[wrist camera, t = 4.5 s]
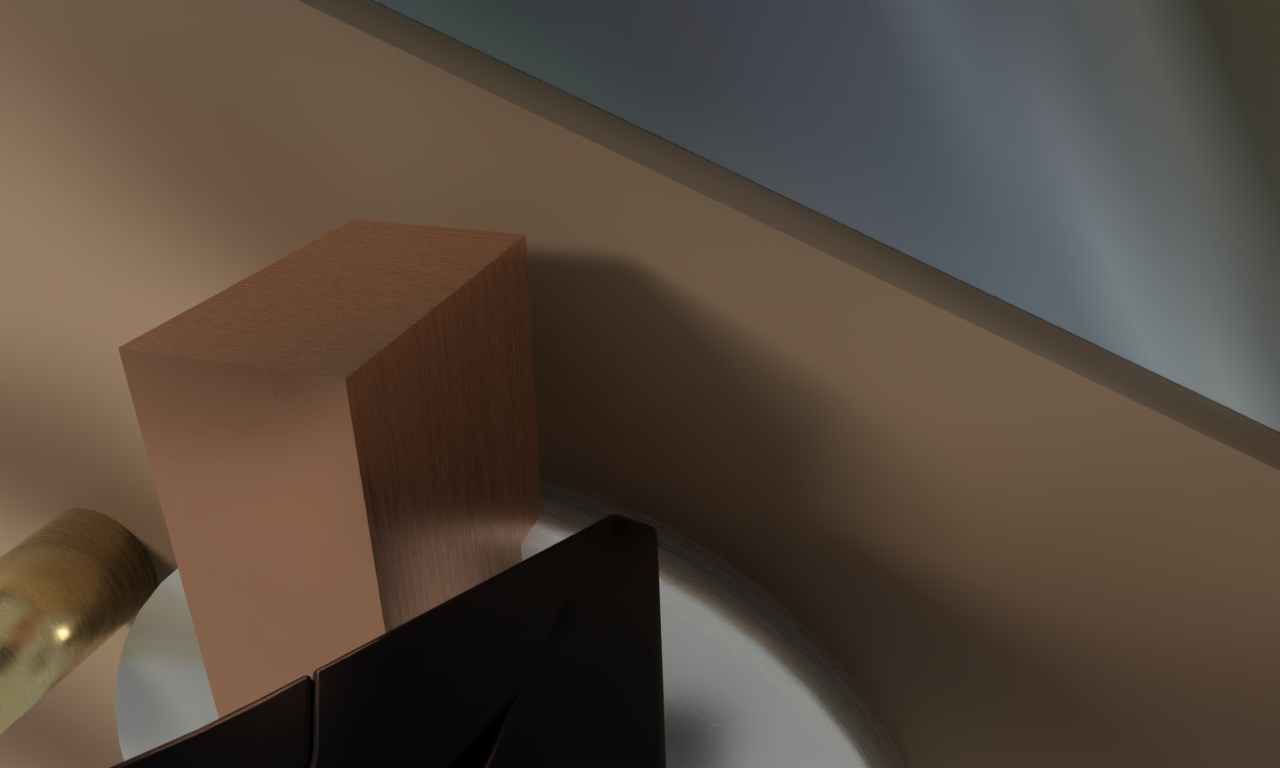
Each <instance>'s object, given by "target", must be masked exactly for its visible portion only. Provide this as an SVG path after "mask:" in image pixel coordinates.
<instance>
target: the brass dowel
mask: <svg viewBox="0 0 1280 768" xmlns="http://www.w3.org/2000/svg"><path fill="white" fill-rule="evenodd" d="M156 589H157V575H156V571H155V568H154V565H153V563H152V560H151V558H150V556H149V555H148V553H147V551H146V550H145V548H144V547H143V546H142V544H141V543H140V542H139V541H138V540H137V538H136V537H135V536H134V535H133V534H132V533H131V532H130V531H129V530H127V529H126V528H125V527H124V526H123V525H121V524H120V523H118V522H117V521H115V520H114V519H112V518H110V517H109V516H107V515H104V514H102V513H100V512H97V511H94V510H90V509H83V508H76V509H70V510H67V511H65V512H63V513H62V514H60V515H59V516H58V517H56V518H55V519H53V520H52V521H50V522H49V523H48V524H46V525H45V526H43V527H42V528H40V529H39V530H37V531H36V532H35V533H33V534H32V535H30V536H29V537H27V538H26V539H25V540H23V541H22V542H20V543H19V544H17V545H16V546H14V547H13V548H12V549H10V550H9V551H7V552H6V553H4V554H3V555H2V556H0V734H2V733H3V732H4V731H5V730H6V729H7V728H8V727H9V726H11V725H12V724H13V723H14V722H15V721H16V720H17V719H19V718H20V717H21V716H22V715H23V714H24V713H25V712H26V711H28V710H29V709H30V708H31V707H32V706H33V705H34V704H36V703H37V702H38V701H39V700H40V699H41V698H42V697H43V696H45V695H46V694H47V693H48V692H49V691H50V690H51V689H53V688H54V687H55V686H56V685H57V684H58V683H59V682H60V681H62V680H63V679H64V678H65V677H66V676H67V675H68V674H70V673H71V672H72V671H73V670H74V669H75V668H76V667H77V666H79V665H80V664H81V663H82V662H83V661H84V660H85V659H87V658H88V657H89V656H90V655H91V654H92V653H93V652H94V651H96V650H97V649H98V648H99V647H100V646H101V645H102V644H104V643H105V642H106V641H107V640H108V639H109V638H110V637H112V636H113V635H114V634H115V633H116V632H117V631H118V630H119V629H121V628H122V627H123V626H124V625H125V624H126V623H127V622H129V621H130V620H131V619H132V618H133V617H134V616H135V615H136V614H138V613H139V611H140V609H141V608H142V607H143V605H144V604H145V603H146V602H147V600H148V599H149V598H150V596H151V595H152V594H153V593H154V591H155V590H156Z"/></svg>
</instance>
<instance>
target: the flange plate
mask: <svg viewBox="0 0 1280 768" xmlns="http://www.w3.org/2000/svg"><path fill="white" fill-rule="evenodd" d="M118 350H119V353H120V357H121V361H122V364H123V368H124V372H125V375H126V379H127V383H128V386H129V390H130V394H131V397H132V401H133V405H134V408H135V412H136V416H137V419H138V423H139V427H140V430H141V434H142V438H143V441H144V445H145V449H146V452H147V456H148V460H149V463H150V467H151V471H152V474H153V478H154V482H155V486H156V489H157V493H158V497H159V500H160V504H161V508H162V511H163V515H164V519H165V522H166V526H167V530H168V533H169V537H170V541H171V544H172V548H173V552H174V555H175V559H176V563H177V566H178V569H176V570H175V571H174V572H173V573H172V574H171V575H169V576H168V577H167V578H166V579H165V580H164V581H163V582H161V584H160V585H159V586H158V588H157V589H156V590H155V591H154V593H153V594H152V595H151V596H150V598H149V599H148V600H147V602H146V603H145V604H144V605H143V607H142V608H141V609H140V611H139V613H138V615H137V617H136V619H135V621H134V623H133V625H132V627H131V629H130V632H129V634H128V636H127V638H126V640H125V643H124V647H123V651H122V655H121V659H120V663H119V668H118V672H117V682H116V704H115V711H116V719H117V728H118V736H119V744H120V748H121V752H122V755H123V759H124V761H126V760H128V759H130V758H133V757H135V756H137V755H139V754H142V753H144V752H146V751H149V750H151V749H153V748H155V747H158V746H160V745H162V744H165V743H167V742H169V741H171V740H174V739H176V738H178V737H181V736H183V735H185V734H188V733H190V732H192V731H194V730H197V729H199V728H201V727H203V726H205V725H207V724H209V723H211V722H213V721H215V720H217V719H219V718H221V717H223V716H225V715H227V714H229V713H231V712H233V711H236V710H238V709H240V708H242V707H244V706H246V705H248V704H250V703H252V702H254V701H256V700H258V699H260V698H262V697H264V696H266V695H268V694H270V693H272V692H273V691H275V690H277V689H279V688H281V687H283V686H285V685H287V684H289V683H291V682H292V681H294V680H296V679H298V678H300V677H302V676H304V675H308V676H310V677H311V678H312V675H313V672H314V671H315V670H316V669H318V668H320V667H322V666H324V665H326V664H328V663H329V662H331V661H333V660H335V659H337V658H339V657H341V656H343V655H345V654H347V653H348V652H350V651H352V650H354V649H356V648H358V647H360V646H362V645H364V644H366V643H368V642H369V641H371V640H373V639H375V638H377V637H379V636H381V635H383V634H385V633H387V632H388V631H390V630H392V629H394V628H396V627H398V626H400V625H402V624H404V623H406V622H407V621H409V620H411V619H413V618H415V617H417V616H419V615H421V614H423V613H425V612H426V611H428V610H430V609H432V608H434V607H436V606H438V605H440V604H442V603H444V602H445V601H447V600H449V599H451V598H453V597H455V596H457V595H459V594H461V593H463V592H465V591H466V590H468V589H470V588H472V587H474V586H476V585H478V584H480V583H482V582H484V581H485V580H487V579H489V578H491V577H493V576H495V575H497V574H499V573H501V572H503V571H504V570H506V569H508V568H510V567H512V566H514V565H516V564H518V563H520V562H522V561H523V560H525V559H527V558H529V557H531V556H533V555H535V554H537V553H539V552H541V551H543V550H544V549H546V548H548V547H550V546H552V545H554V544H556V543H558V542H560V541H562V540H563V539H565V538H567V537H569V536H571V535H573V534H575V533H577V532H579V531H581V530H582V529H584V528H586V527H588V526H590V525H592V524H594V523H596V522H598V521H600V520H601V519H603V518H605V517H607V516H609V515H612V514H620V515H623V516H626V517H629V518H631V519H634V520H637V521H640V522H642V523H645V524H648V525H651V526H652V527H654V528H655V529H656V531H657V536H658V561H659V586H660V611H661V637H662V662H663V687H664V713H665V738H666V764H667V768H907V767H906V765H905V763H904V761H903V759H902V757H901V755H900V753H899V751H898V748H897V746H896V744H895V742H894V740H893V738H892V736H891V734H890V731H889V729H888V728H887V726H886V725H885V723H884V722H883V720H882V719H881V717H880V716H879V714H878V713H877V711H876V710H875V708H874V707H873V705H872V704H871V702H870V701H869V699H868V697H867V696H866V694H865V693H864V691H863V690H862V688H861V687H860V685H859V684H858V682H857V681H856V680H855V679H854V678H853V677H852V675H851V674H850V673H849V672H848V671H847V670H846V668H845V667H844V666H843V665H842V664H841V663H840V661H839V660H838V659H837V658H836V657H835V656H834V654H833V653H832V652H831V651H830V650H829V649H828V647H827V646H826V645H825V644H824V643H823V642H822V640H821V639H820V638H819V637H818V636H817V635H816V634H814V633H813V632H812V631H811V630H810V629H809V628H808V627H807V626H806V625H805V624H804V623H803V622H802V621H800V620H799V619H798V618H797V617H796V616H795V615H794V614H793V613H792V612H791V611H790V610H789V609H787V608H786V607H785V606H784V605H783V604H782V603H781V602H780V601H779V600H778V599H777V598H776V597H774V596H773V595H772V594H771V593H769V592H768V591H767V590H765V589H764V588H762V587H761V586H760V585H758V584H757V583H756V582H754V581H753V580H752V579H750V578H749V577H748V576H746V575H745V574H744V573H742V572H741V571H739V570H738V569H737V568H735V567H734V566H733V565H731V564H730V563H729V562H727V561H726V560H725V559H723V558H722V557H720V556H718V555H717V554H715V553H713V552H712V551H710V550H708V549H707V548H705V547H703V546H701V545H700V544H698V543H696V542H695V541H693V540H691V539H690V538H688V537H686V536H684V535H683V534H681V533H679V532H678V531H676V530H674V529H673V528H671V527H669V526H667V525H666V524H664V523H661V522H659V521H657V520H655V519H653V518H650V517H648V516H646V515H644V514H642V513H639V512H637V511H635V510H633V509H631V508H629V507H626V506H624V505H622V504H620V503H618V502H615V501H613V500H611V499H609V498H607V497H604V496H601V495H598V494H595V493H592V492H589V491H586V490H583V489H580V488H577V487H574V486H571V485H568V484H565V483H562V482H559V481H556V480H553V479H550V478H547V477H542V476H540V462H539V445H538V429H537V412H536V396H535V379H534V363H533V346H532V330H531V313H530V297H529V280H528V264H527V247H526V235H523V234H512V233H501V232H489V231H478V230H467V229H456V228H445V227H434V226H423V225H412V224H401V223H389V222H378V221H367V220H356V219H353V220H351V221H350V222H348V223H346V224H344V225H342V226H340V227H339V228H337V229H335V230H333V231H331V232H329V233H328V234H326V235H324V236H322V237H320V238H318V239H317V240H315V241H313V242H311V243H309V244H307V245H306V246H304V247H302V248H300V249H298V250H296V251H295V252H293V253H291V254H289V255H287V256H285V257H284V258H282V259H280V260H278V261H276V262H274V263H273V264H271V265H269V266H267V267H265V268H263V269H262V270H260V271H258V272H256V273H254V274H252V275H251V276H249V277H247V278H245V279H243V280H241V281H240V282H238V283H236V284H234V285H232V286H230V287H229V288H227V289H225V290H223V291H221V292H219V293H218V294H216V295H214V296H212V297H210V298H208V299H207V300H205V301H203V302H201V303H199V304H197V305H196V306H194V307H192V308H190V309H188V310H186V311H185V312H183V313H181V314H179V315H177V316H175V317H174V318H172V319H170V320H168V321H166V322H164V323H163V324H161V325H159V326H157V327H155V328H153V329H152V330H150V331H148V332H146V333H144V334H142V335H141V336H139V337H137V338H135V339H133V340H131V341H130V342H128V343H126V344H124V345H122V346H120V347H119V348H118Z"/></svg>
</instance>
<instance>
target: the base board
mask: <svg viewBox="0 0 1280 768" xmlns="http://www.w3.org/2000/svg"><path fill="white" fill-rule="evenodd" d="M353 219H356V220H367V221H378V222H389V223H401V224H412V225H423V226H434V227H445V228H456V229H467V230H478V231H489V232H501V233H512V234H523V235H526V247H527V264H528V280H529V297H530V313H531V330H532V346H533V363H534V379H535V396H536V412H537V429H538V445H539V462H540V476H542V477H547V478H550V479H553V480H556V481H559V482H562V483H565V484H568V485H571V486H574V487H577V488H580V489H583V490H586V491H589V492H592V493H595V494H598V495H601V496H604V497H607V498H609V499H611V500H613V501H615V502H618V503H620V504H622V505H624V506H626V507H629V508H631V509H633V510H635V511H637V512H639V513H642V514H644V515H646V516H648V517H650V518H653V519H655V520H657V521H659V522H661V523H664V524H666V525H667V526H669V527H671V528H673V529H674V530H676V531H678V532H679V533H681V534H683V535H684V536H686V537H688V538H690V539H691V540H693V541H695V542H696V543H698V544H700V545H701V546H703V547H705V548H707V549H708V550H710V551H712V552H713V553H715V554H717V555H718V556H720V557H722V558H723V559H725V560H726V561H727V562H729V563H730V564H731V565H733V566H734V567H735V568H737V569H738V570H739V571H741V572H742V573H744V574H745V575H746V576H748V577H749V578H750V579H752V580H753V581H754V582H756V583H757V584H758V585H760V586H761V587H762V588H764V589H765V590H767V591H768V592H769V593H771V594H772V595H773V596H774V597H776V598H777V599H778V600H779V601H780V602H781V603H782V604H783V605H784V606H785V607H786V608H787V609H789V610H790V611H791V612H792V613H793V614H794V615H795V616H796V617H797V618H798V619H799V620H800V621H802V622H803V623H804V624H805V625H806V626H807V627H808V628H809V629H810V630H811V631H812V632H813V633H814V634H816V635H817V636H818V637H819V638H820V639H821V640H822V642H823V643H824V644H825V645H826V646H827V647H828V649H829V650H830V651H831V652H832V653H833V654H834V656H835V657H836V658H837V659H838V660H839V661H840V663H841V664H842V665H843V666H844V667H845V668H846V670H847V671H848V672H849V673H850V674H851V675H852V677H853V678H854V679H855V680H856V681H857V682H858V684H859V685H860V687H861V688H862V690H863V691H864V693H865V694H866V696H867V697H868V699H869V701H870V702H871V704H872V705H873V707H874V708H875V710H876V711H877V713H878V714H879V716H880V717H881V719H882V720H883V722H884V723H885V725H886V726H887V728H888V729H889V731H890V734H891V736H892V738H893V740H894V742H895V744H896V746H897V748H898V751H899V753H900V755H901V757H902V759H903V761H904V763H905V765H906V767H907V768H1280V433H1278V432H1276V431H1274V430H1272V429H1270V428H1268V427H1266V426H1264V425H1261V424H1259V423H1257V422H1255V421H1253V420H1251V419H1249V418H1247V417H1245V416H1243V415H1240V414H1238V413H1236V412H1234V411H1232V410H1230V409H1228V408H1226V407H1224V406H1222V405H1219V404H1217V403H1215V402H1213V401H1211V400H1209V399H1207V398H1205V397H1203V396H1201V395H1198V394H1196V393H1194V392H1192V391H1190V390H1188V389H1186V388H1184V387H1182V386H1180V385H1178V384H1175V383H1173V382H1171V381H1169V380H1167V379H1165V378H1163V377H1161V376H1159V375H1157V374H1154V373H1152V372H1150V371H1148V370H1146V369H1144V368H1142V367H1140V366H1138V365H1136V364H1133V363H1131V362H1129V361H1127V360H1125V359H1123V358H1121V357H1119V356H1117V355H1115V354H1112V353H1110V352H1108V351H1106V350H1104V349H1102V348H1100V347H1098V346H1096V345H1094V344H1091V343H1089V342H1087V341H1085V340H1083V339H1081V338H1079V337H1077V336H1075V335H1073V334H1070V333H1068V332H1066V331H1064V330H1062V329H1060V328H1058V327H1056V326H1054V325H1052V324H1049V323H1047V322H1045V321H1043V320H1041V319H1039V318H1037V317H1035V316H1033V315H1031V314H1028V313H1026V312H1024V311H1022V310H1020V309H1018V308H1016V307H1014V306H1012V305H1010V304H1008V303H1005V302H1003V301H1001V300H999V299H997V298H995V297H993V296H991V295H989V294H987V293H984V292H982V291H980V290H978V289H976V288H974V287H972V286H970V285H968V284H966V283H963V282H961V281H959V280H957V279H955V278H953V277H951V276H949V275H947V274H945V273H942V272H940V271H938V270H936V269H934V268H932V267H930V266H928V265H926V264H924V263H921V262H919V261H917V260H915V259H913V258H911V257H909V256H907V255H905V254H903V253H900V252H898V251H896V250H894V249H892V248H890V247H888V246H886V245H884V244H882V243H879V242H877V241H875V240H873V239H871V238H869V237H867V236H865V235H863V234H861V233H858V232H856V231H854V230H852V229H850V228H848V227H846V226H844V225H842V224H840V223H838V222H835V221H833V220H831V219H829V218H827V217H825V216H823V215H821V214H819V213H817V212H814V211H812V210H810V209H808V208H806V207H804V206H802V205H800V204H798V203H796V202H793V201H791V200H789V199H787V198H785V197H783V196H781V195H779V194H777V193H775V192H772V191H770V190H768V189H766V188H764V187H762V186H760V185H758V184H756V183H754V182H751V181H749V180H747V179H745V178H743V177H741V176H739V175H737V174H735V173H733V172H730V171H728V170H726V169H724V168H722V167H720V166H718V165H716V164H714V163H712V162H709V161H707V160H705V159H703V158H701V157H699V156H697V155H695V154H693V153H691V152H688V151H686V150H684V149H682V148H680V147H678V146H676V145H674V144H672V143H670V142H668V141H665V140H663V139H661V138H659V137H657V136H655V135H653V134H651V133H649V132H647V131H644V130H642V129H640V128H638V127H636V126H634V125H632V124H630V123H628V122H626V121H623V120H621V119H619V118H617V117H615V116H613V115H611V114H609V113H607V112H605V111H602V110H600V109H598V108H596V107H594V106H592V105H590V104H588V103H586V102H584V101H581V100H579V99H577V98H575V97H573V96H571V95H569V94H567V93H565V92H563V91H560V90H558V89H556V88H554V87H552V86H550V85H548V84H546V83H544V82H542V81H539V80H537V79H535V78H533V77H531V76H529V75H527V74H525V73H523V72H521V71H518V70H516V69H514V68H512V67H510V66H508V65H506V64H504V63H502V62H500V61H498V60H495V59H493V58H491V57H489V56H487V55H485V54H483V53H481V52H479V51H477V50H474V49H472V48H470V47H468V46H466V45H464V44H462V43H460V42H458V41H456V40H453V39H451V38H449V37H447V36H445V35H443V34H441V33H439V32H437V31H435V30H432V29H430V28H428V27H426V26H424V25H422V24H420V23H418V22H416V21H414V20H411V19H409V18H407V17H405V16H403V15H401V14H399V13H397V12H395V11H393V10H390V9H388V8H386V7H384V6H382V5H380V4H378V3H376V2H374V1H372V0H0V556H2V555H3V554H4V553H6V552H7V551H9V550H10V549H12V548H13V547H14V546H16V545H17V544H19V543H20V542H22V541H23V540H25V539H26V538H27V537H29V536H30V535H32V534H33V533H35V532H36V531H37V530H39V529H40V528H42V527H43V526H45V525H46V524H48V523H49V522H50V521H52V520H53V519H55V518H56V517H58V516H59V515H60V514H62V513H63V512H65V511H67V510H70V509H76V508H83V509H90V510H94V511H97V512H100V513H102V514H104V515H107V516H109V517H110V518H112V519H114V520H115V521H117V522H118V523H120V524H121V525H123V526H124V527H125V528H126V529H127V530H129V531H130V532H131V533H132V534H133V535H134V536H135V537H136V538H137V540H138V541H139V542H140V543H141V544H142V546H143V547H144V548H145V550H146V551H147V553H148V555H149V556H150V558H151V560H152V563H153V565H154V568H155V571H156V575H157V588H158V586H159V585H160V584H161V582H163V581H164V580H165V579H166V578H167V577H168V576H169V575H171V574H172V573H173V572H174V571H175V570H176V569H178V566H177V563H176V559H175V555H174V552H173V548H172V544H171V541H170V537H169V533H168V530H167V526H166V522H165V519H164V515H163V511H162V508H161V504H160V500H159V497H158V493H157V489H156V486H155V482H154V478H153V474H152V471H151V467H150V463H149V460H148V456H147V452H146V449H145V445H144V441H143V438H142V434H141V430H140V427H139V423H138V419H137V416H136V412H135V408H134V405H133V401H132V397H131V394H130V390H129V386H128V383H127V379H126V375H125V372H124V368H123V364H122V361H121V357H120V353H119V350H118V348H119V347H120V346H122V345H124V344H126V343H128V342H130V341H131V340H133V339H135V338H137V337H139V336H141V335H142V334H144V333H146V332H148V331H150V330H152V329H153V328H155V327H157V326H159V325H161V324H163V323H164V322H166V321H168V320H170V319H172V318H174V317H175V316H177V315H179V314H181V313H183V312H185V311H186V310H188V309H190V308H192V307H194V306H196V305H197V304H199V303H201V302H203V301H205V300H207V299H208V298H210V297H212V296H214V295H216V294H218V293H219V292H221V291H223V290H225V289H227V288H229V287H230V286H232V285H234V284H236V283H238V282H240V281H241V280H243V279H245V278H247V277H249V276H251V275H252V274H254V273H256V272H258V271H260V270H262V269H263V268H265V267H267V266H269V265H271V264H273V263H274V262H276V261H278V260H280V259H282V258H284V257H285V256H287V255H289V254H291V253H293V252H295V251H296V250H298V249H300V248H302V247H304V246H306V245H307V244H309V243H311V242H313V241H315V240H317V239H318V238H320V237H322V236H324V235H326V234H328V233H329V232H331V231H333V230H335V229H337V228H339V227H340V226H342V225H344V224H346V223H348V222H350V221H351V220H353ZM137 615H138V614H136V615H135V616H134V617H133V618H132V619H131V620H130V621H129V622H127V623H126V624H125V625H124V626H123V627H122V628H121V629H119V630H118V631H117V632H116V633H115V634H114V635H113V636H112V637H110V638H109V639H108V640H107V641H106V642H105V643H104V644H102V645H101V646H100V647H99V648H98V649H97V650H96V651H94V652H93V653H92V654H91V655H90V656H89V657H88V658H87V659H85V660H84V661H83V662H82V663H81V664H80V665H79V666H77V667H76V668H75V669H74V670H73V671H72V672H71V673H70V674H68V675H67V676H66V677H65V678H64V679H63V680H62V681H60V682H59V683H58V684H57V685H56V686H55V687H54V688H53V689H51V690H50V691H49V692H48V693H47V694H46V695H45V696H43V697H42V698H41V699H40V700H39V701H38V702H37V703H36V704H34V705H33V706H32V707H31V708H30V709H29V710H28V711H26V712H25V713H24V714H23V715H22V716H21V717H20V718H19V719H17V720H16V721H15V722H14V723H13V724H12V725H11V726H9V727H8V728H7V729H6V730H5V731H4V732H3V733H2V734H0V768H109V767H111V766H114V765H116V764H119V763H121V762H123V761H124V759H123V755H122V752H121V748H120V744H119V736H118V728H117V719H116V711H115V704H116V682H117V672H118V668H119V663H120V659H121V655H122V651H123V647H124V643H125V640H126V638H127V636H128V634H129V632H130V629H131V627H132V625H133V623H134V621H135V619H136V617H137Z"/></svg>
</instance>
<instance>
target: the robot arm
mask: <svg viewBox="0 0 1280 768" xmlns="http://www.w3.org/2000/svg"><path fill="white" fill-rule="evenodd" d="M109 768H667V764H666V738H665V713H664V687H663V662H662V637H661V611H660V586H659V561H658V536H657V531H656V529H655V528H654V527H652V526H651V525H648V524H645V523H642V522H640V521H637V520H634V519H631V518H629V517H626V516H623V515H620V514H612V515H609V516H607V517H605V518H603V519H601V520H600V521H598V522H596V523H594V524H592V525H590V526H588V527H586V528H584V529H582V530H581V531H579V532H577V533H575V534H573V535H571V536H569V537H567V538H565V539H563V540H562V541H560V542H558V543H556V544H554V545H552V546H550V547H548V548H546V549H544V550H543V551H541V552H539V553H537V554H535V555H533V556H531V557H529V558H527V559H525V560H523V561H522V562H520V563H518V564H516V565H514V566H512V567H510V568H508V569H506V570H504V571H503V572H501V573H499V574H497V575H495V576H493V577H491V578H489V579H487V580H485V581H484V582H482V583H480V584H478V585H476V586H474V587H472V588H470V589H468V590H466V591H465V592H463V593H461V594H459V595H457V596H455V597H453V598H451V599H449V600H447V601H445V602H444V603H442V604H440V605H438V606H436V607H434V608H432V609H430V610H428V611H426V612H425V613H423V614H421V615H419V616H417V617H415V618H413V619H411V620H409V621H407V622H406V623H404V624H402V625H400V626H398V627H396V628H394V629H392V630H390V631H388V632H387V633H385V634H383V635H381V636H379V637H377V638H375V639H373V640H371V641H369V642H368V643H366V644H364V645H362V646H360V647H358V648H356V649H354V650H352V651H350V652H348V653H347V654H345V655H343V656H341V657H339V658H337V659H335V660H333V661H331V662H329V663H328V664H326V665H324V666H322V667H320V668H318V669H316V670H315V671H314V672H313V675H312V678H311V677H310V676H308V675H304V676H302V677H300V678H298V679H296V680H294V681H292V682H291V683H289V684H287V685H285V686H283V687H281V688H279V689H277V690H275V691H273V692H272V693H270V694H268V695H266V696H264V697H262V698H260V699H258V700H256V701H254V702H252V703H250V704H248V705H246V706H244V707H242V708H240V709H238V710H236V711H233V712H231V713H229V714H227V715H225V716H223V717H221V718H219V719H217V720H215V721H213V722H211V723H209V724H207V725H205V726H203V727H201V728H199V729H197V730H194V731H192V732H190V733H188V734H185V735H183V736H181V737H178V738H176V739H174V740H171V741H169V742H167V743H165V744H162V745H160V746H158V747H155V748H153V749H151V750H149V751H146V752H144V753H142V754H139V755H137V756H135V757H133V758H130V759H128V760H126V761H123V762H121V763H119V764H116V765H114V766H111V767H109Z"/></svg>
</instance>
